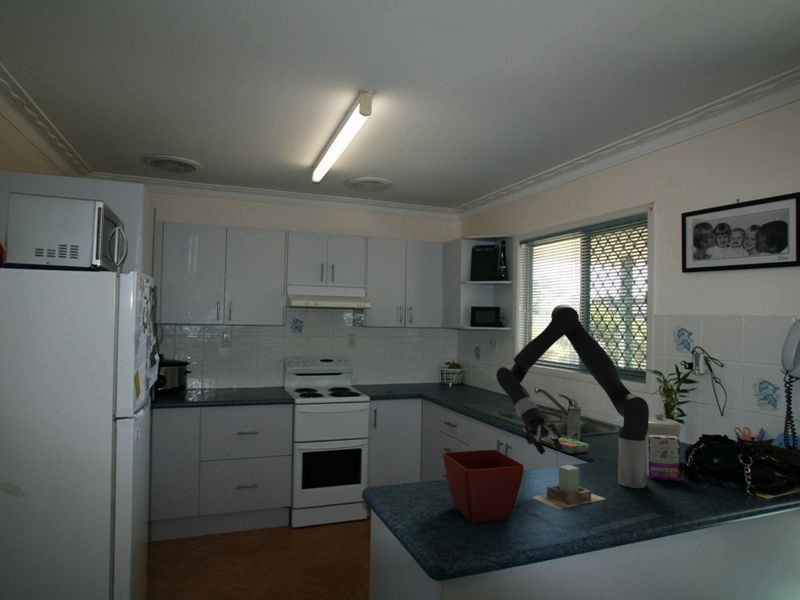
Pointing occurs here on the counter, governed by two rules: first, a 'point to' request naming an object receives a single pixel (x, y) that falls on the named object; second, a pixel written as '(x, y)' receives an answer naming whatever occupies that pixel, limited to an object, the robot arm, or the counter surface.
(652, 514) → the counter surface
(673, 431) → the canister
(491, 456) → the plant pot
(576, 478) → the sage block
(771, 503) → the counter surface
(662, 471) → the candy bar box
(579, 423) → the coffee box
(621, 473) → the robot arm
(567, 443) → the puzzle game
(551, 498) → the puzzle board
